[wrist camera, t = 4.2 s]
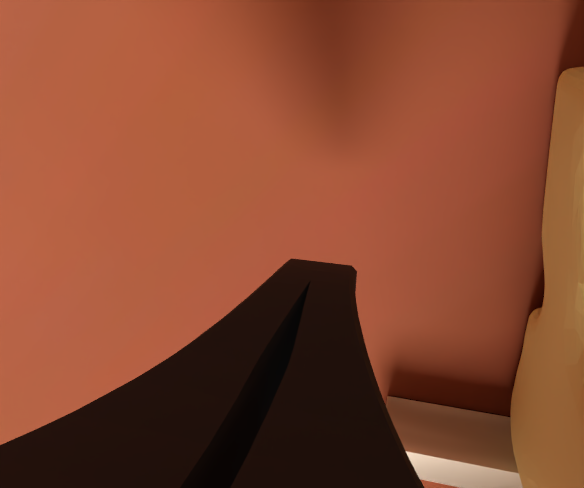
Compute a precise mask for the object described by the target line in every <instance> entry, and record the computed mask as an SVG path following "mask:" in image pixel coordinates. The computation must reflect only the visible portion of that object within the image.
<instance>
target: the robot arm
mask: <svg viewBox="0 0 584 488" xmlns="http://www.w3.org/2000/svg"><path fill="white" fill-rule="evenodd" d="M356 276H357V271H356V270H355V269H354V268H353V267H352V266H350V265H341V264H333V263H324V262H316V261H307V260H299V259H290V260H289V261H288V262H286V263H285V264H284V265H283V266H282V267H281V268H280V269H278V270H277V271H276V272H275V273H274V274H273V275H272V276H271V277H270V278H269V279H268V280H266V281H265V282H264V283H263V284H262V285H261V286H260V287H259V288H258V289H257V290H255V291H254V292H253V293H252V294H251V295H250V296H249V297H247V298H246V299H245V300H244V301H243V302H242V303H240V304H239V305H238V306H237V307H236V308H234V309H233V310H232V311H231V312H230V313H229V314H227V315H226V316H225V317H224V318H222V319H221V320H220V321H219V322H217V323H216V324H215V325H213V326H212V327H211V328H209V329H208V330H207V331H205V332H204V333H203V334H201V335H200V336H199V337H198V338H196V339H195V340H194V341H192V342H191V343H190V344H188V345H187V346H185V347H184V348H182V349H181V350H180V351H178V352H177V353H175V354H174V355H172V356H171V357H169V358H168V359H166V360H165V361H163V362H161V363H160V364H158V365H157V366H155V367H153V368H152V369H150V370H149V371H147V372H145V373H144V374H142V375H140V376H139V377H137V378H135V379H134V380H132V381H130V382H128V383H126V384H124V385H123V386H121V387H119V388H117V389H115V390H113V391H111V392H110V393H108V394H106V395H104V396H102V397H100V398H98V399H97V400H95V401H93V402H91V403H89V404H87V405H85V406H84V407H82V408H80V409H78V410H76V411H74V412H72V413H70V414H68V415H66V416H64V417H61V418H59V419H57V420H55V421H53V422H51V423H49V424H47V425H45V426H43V427H40V428H38V429H36V430H34V431H31V432H29V433H27V434H25V435H22V436H20V437H18V438H16V439H13V440H11V441H9V442H7V443H4V444H2V445H0V488H424V486H423V484H422V482H421V480H420V479H419V477H418V475H417V473H416V471H415V469H414V467H413V465H412V463H411V461H410V459H409V457H408V455H407V453H406V451H405V449H404V447H403V444H402V442H401V440H400V438H399V436H398V433H397V431H396V429H395V427H394V425H393V422H392V420H391V417H390V415H389V413H388V410H387V408H386V405H385V403H384V400H383V398H382V395H381V392H380V390H379V387H378V384H377V381H376V378H375V375H374V372H373V369H372V366H371V363H370V360H369V357H368V353H367V350H366V346H365V343H364V339H363V334H362V330H361V326H360V322H359V317H358V311H357V305H356V297H355V291H356Z"/></svg>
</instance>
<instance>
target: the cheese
mask: <svg viewBox="0 0 584 488" xmlns="http://www.w3.org/2000/svg"><path fill="white" fill-rule="evenodd" d="M541 239H542V248H543V263H544V277H545V290H544V300H543V305H542V308H537V309H536V310H533V312H532V313H531V314H530V316H529V319H528V324H527V328H526V332H525V338H524V344H523V350H522V354H521V359H520V362H519V366H518V370H517V374H516V379H515V384H514V388H513V392H512V399H511V438H512V445H513V451H514V456H515V460H516V464H517V468H518V472H519V476H520V480H521V483H522V486H523V488H584V67H576V68H569V69H567V70H565V71H563V72H562V74H561V75H560V77H559V80H558V84H557V89H556V98H555V106H554V114H553V123H552V132H551V141H550V149H549V158H548V168H547V178H546V187H545V197H544V207H543V221H542V238H541Z"/></svg>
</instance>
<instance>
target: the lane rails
mask: <svg viewBox="0 0 584 488" xmlns="http://www.w3.org/2000/svg"><path fill="white" fill-rule="evenodd" d="M386 408H387V410H388V413H389V415H390V417H391V420H392V422H393V425H394V427H395V429H396V431H397V433H398V436H399V438H400V440H401V442H402V444H403V447H404V449H405V451H406V453H407V455H408V457H409V459H410V461H411V463H412V465H413V467H414V469H415V471H416V473H417V475H418V477H419V479H422V480H426V481H431V482H436V483H441V484H446V485H450V486H455V487H460V488H523V486H522V483H521V480H520V476H519V472H518V468H517V464H516V460H515V456H514V451H513V445H512V438H511V417H506V416H500V415H494V414H488V413H483V412H477V411H471V410H465V409H460V408H454V407H448V406H442V405H437V404H431V403H425V402H419V401H414V400H408V399H402V398H397V397H391V396H387V402H386Z"/></svg>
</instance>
